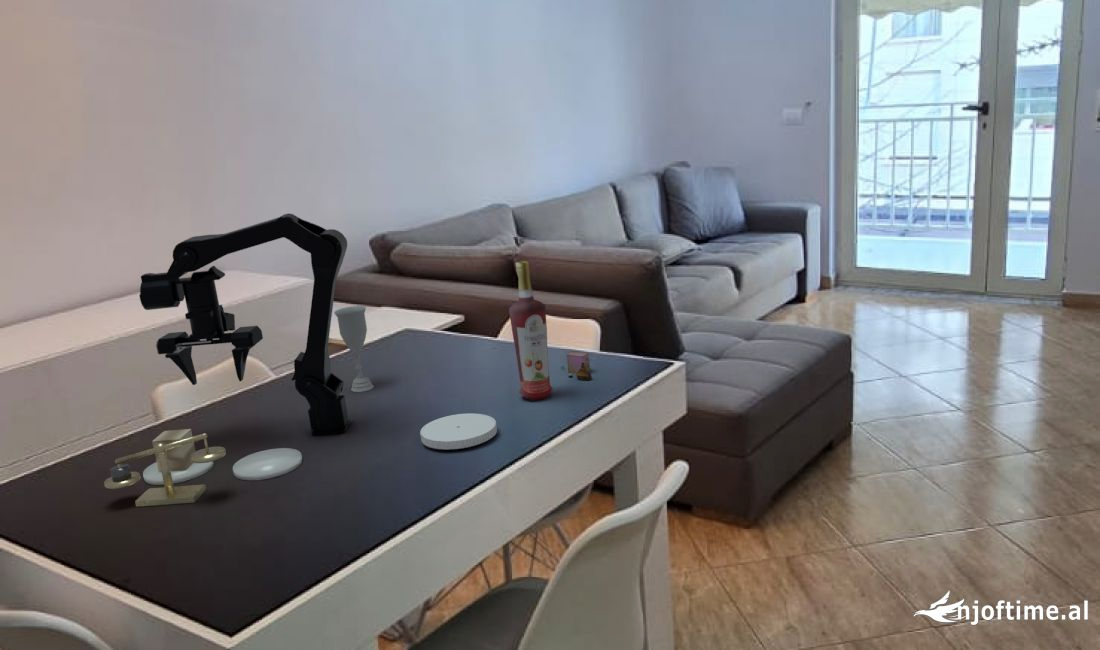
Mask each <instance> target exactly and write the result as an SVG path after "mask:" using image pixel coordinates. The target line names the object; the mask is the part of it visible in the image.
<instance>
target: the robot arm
mask: <svg viewBox="0 0 1100 650" xmlns="http://www.w3.org/2000/svg"><path fill="white" fill-rule="evenodd" d="M282 238H284V239H287V240H288V241H290V242H291V243H292V244H294V245H296V246H297V247H299V248H300V249H302V250H303V251H305V252H307V253H310V262H311V263H310V264H311V270H312V273H313V286H312V288H313V289H312V295H311V297H312V298H311V305H310V313H309V322H308V331H307V337H306V345H305V347H306V348H305V351H304V352H303V351H299V354H298V355H297V356H296V357H295V359H294V363H293V367H294V373H293V376H292V378H291V381H294V388H295V390H296V392H298V393H299V394H300V395H301V396H303V397H304V398H305V399H306V401H307V402H308V405H309V409H307V413H308V418H309V424H310V425H309V426H310V429H311V430H312V431H311V433H310V434H311V436H321V435H332V434H333V435H334V434H344V433H345V432H346V431H347V429H348V427H349V426H350V425H351V423H352V418H350V419H349V416H348V409H347V408H348V407H347V401H346V396H345V395H344V394H342V395H341V393H342V392H343V389H344V386H345V385H344V384H345V382H344V380H342V379H341V378H340V377H338V376H337V375H335V374H334V373H332V371H331V370H332V369H331V366H332V365H331V358H330V353H329V340H330V332H331V324H332V316H333V307H334V300H335V299H334V298H335V291H336V283H337V278H338V274H339V273H340V269H341V268H342V265H343V263H344V259H345V256H346V252H347V249H348V240H347V238H346V237H345V236H344V234H343V233H342V232H340V231H339V230H336V229H326V228H325V227H322V226H320V225H318V224H316V223H313V222H310V221H308V220H304V219H302V218H300V217H299V216H296V215H295V214H293V213H285V214H282V215H281V216H278V217H275V218H272V219H269V220H266V221H262V222H259V223H255V224H253V225H249V226H246V227H242V228H239V229H236V230H233V231H229V232H226V233H218V234H205V235H197V236H196V235H195V236H191V237H189V238H187V239H184V240H183V241H180V242H178V243H177V244H176V245H175V246H174V248H173V251H172V259H173V261H172V262H171V264H170V265H169V268H168V270H167V272H158V273H153V272H152V273H151V272H148V273H144V274H142V275H140V278H141V284H140V288H139V292H140V293H139V301H140V303H141V306H142V307H143V309H144V310H145V311H153V310H161V309H171V308H178V307H179V306H180V304H181V302H183V301H184V300H185V306H186V310H187V312H186V313H185V314H184V316H185V319H186V320H189V324H190V325H189V326H190V328H191V329H190V330H191V334H188V333H187V332H186V331H179V332H177V331H175V332H168V333H167V334H165V335H163V336H161V337H160V338H158V339H157V341H156V344H155V347H156V351H157V352H156V353H157V354H158V355H164V356H165V357H164V358H165V359H170V360H171V361H172V362H173V363H174V364H175V365H176V366H177V367H178V368H179V369H180V370H181V372H182V373H183V375H184V376H186V378H187V379H188V381H190V383H191V385H192V386H195V385H197V384H198V383H197V382H198V381H197V375H196V369H195V366H194V362H193V361H194V360H193V357H192V347H193V346H194V347H195V346H207V345H219V344H231V345H232V346H233V347H234V348H233V349H232V350H231V354H232V358H233V362H234V368H235V372H236V377H237V379H238V381H239V382H242V381H243V380H244V376H245V370H246V365H247V359H248V356H249V353H250V350H251V349H253V347H255V346H256V345H257V344H258V343H259V342H261V341H262V340H263V339H264V336H263V331H262V329H261V328H260V327H259V326H258V325H249V326H240V327H237V329H236V323H235V322H236V320H235V319H236V317H235V314H234V313H230V312H225V310H224V307H223V304H220V302H219V296H218V293H217V288H216V287H217V286H216V283H215V281H219V280H221V279H222V278H224V277H225V276H226V273H225V272H223V271H222V270H220V269H218V268H217V267H216V266H215V265H212V266H211V267H209V269H208V270H204V271H198V270H199V269H201V268H204V267H206V266H208V265H209V264H211V263H213V262H216V261H217V260H219V259H221V258H223V257H225V256H227V255H229V254H234V253H237V252H240V251H243V250H247V249H250V248H252V247H256V246H259V245H263V244H266V243H270V242H273V241H275V240H280V239H282ZM190 272H192V274H191V276H190V277H183V276H185V275H186V274H187V273H190ZM228 331H230V332H228ZM231 331H232V332H231ZM225 332H226V333H225Z"/></svg>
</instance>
